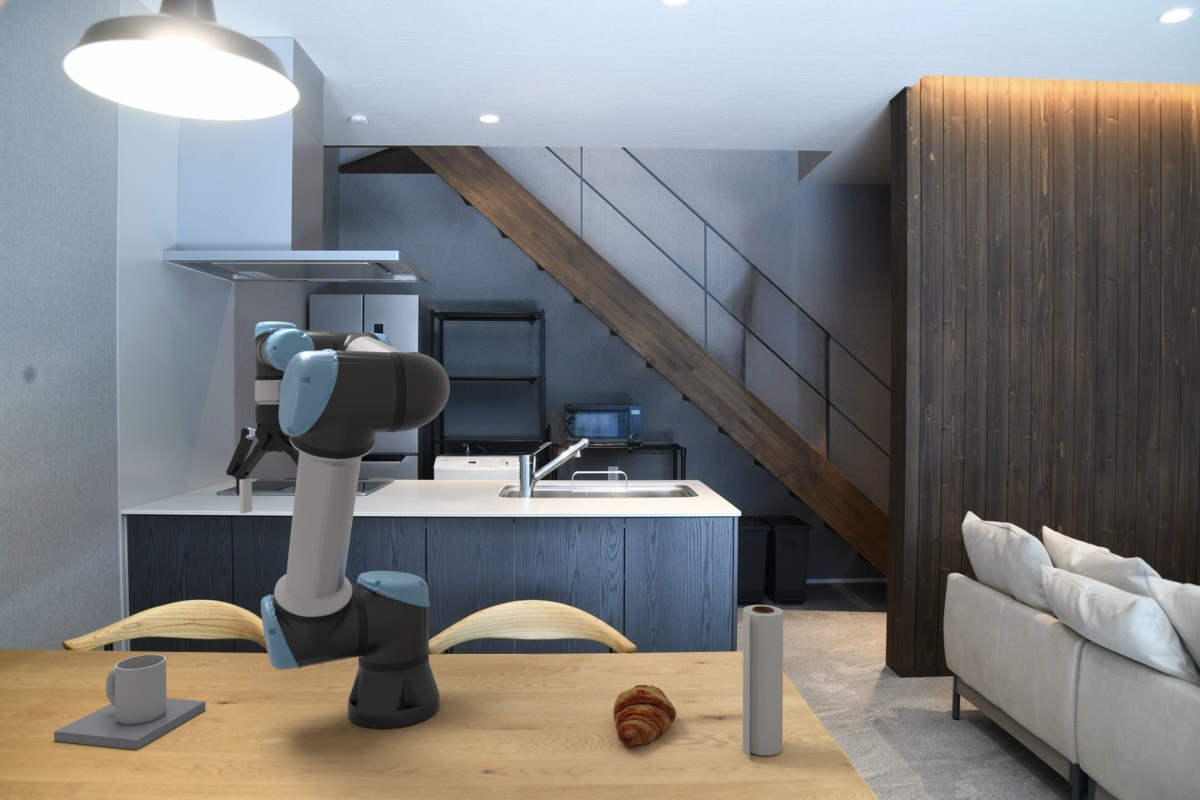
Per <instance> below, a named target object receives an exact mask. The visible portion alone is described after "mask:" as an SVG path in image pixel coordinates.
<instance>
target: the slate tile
mask: <svg viewBox="0 0 1200 800" xmlns="http://www.w3.org/2000/svg"><path fill="white" fill-rule="evenodd" d="M206 708H207V707H206V701H203V700H192V699H183V698H171V697H167V707H166V712H165V713H164V715H163V716H161V717H160V718H158V719H156V720H153V721H151V722H147V723H143V724H137V725H124V724H120V723H119V722H118V721H117V720H116V715H115V706H114V705H112V704H111V703H110V704H108V705H106V706H103V707H101V708H99V709H97V710H96V711H93V712H91V713H89V714H87V715H85V716H83V717H80V718H79V719H77V720H75V721H72V722H71V723H68V724H67V725H64V726H62V727H60V728H59V729H57V730H55V731H53V740H54V742H58V741H59V742H61V743H68V744H69V743H70V744H79V745H87V746H95V747H96V746H97V747H105V746H106V748H115V749H124V750H125V749H126V750H133V749H134V750H136V751H138V750H140V749H142V748H143V747H145V746H147V745H148V743H149V744H150V743H151V741H152V742H154V741H156V740H157V739H159V738H161V737H163V736H164V735H166V734H167V733H169V732H170V730H171V731H172V730H174V729H176V728H178V727H180V726H181V725H182V723H183V724H185V723H186V722H188V721H189V719H190V720H191V719H193V718H195V717H196V716H198V715H200V714H202V713H203V712H205V711H206ZM204 710H205V711H204ZM202 711H203V712H202ZM201 712H202V713H201ZM199 713H200V714H199ZM197 714H198V715H197ZM194 716H195V717H194ZM192 717H193V718H192ZM187 720H188V721H187ZM177 726H178V727H177ZM175 727H176V728H175ZM168 731H169V732H168ZM165 733H166V734H165ZM158 737H159V738H158ZM156 738H157V739H156ZM153 740H154V741H153ZM146 744H147V745H146ZM141 747H142V748H141Z"/></svg>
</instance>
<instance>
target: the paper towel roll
mask: <svg viewBox="0 0 1200 800" xmlns="http://www.w3.org/2000/svg"><path fill="white" fill-rule="evenodd" d="M742 612H743V613H742V614H743V615H742V619H743V621H742V623H743V624H742V628H743V629H742V632H743V633H742V634H743V636H742V641H743V642H742V644H743V645H742V675H743V676H742V749H743V751H744V752H745V754H746V755H747V756H748V760H750V759H751V758H750V757H751V755H750V754H753V755H757V756H774V755H778V754H780V753H781V752H782V751H783V737H784V736H783V734H784V733H783V725H784V722H783V717H784V715H783V711H784V710H783V709H784V708H783V701H784V700H783V697H784V696H783V695H784V694H783V693H784V692H783V691H784V690H783V689H784V685H783V684H784V680H783V679H784V677H783V676H784V669H783V668H784V660H783V659H784V610H783V609H781V607H780V608H779V607H777V606H773V605H766V604H753V605H747V606H744V607H743V611H742Z"/></svg>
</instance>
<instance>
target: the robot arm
mask: <svg viewBox="0 0 1200 800" xmlns="http://www.w3.org/2000/svg"><path fill="white" fill-rule="evenodd" d="M253 343H254V363H255V365H254V367H255V368H254V369H255V372H254V373H255V376H254V377H255V380H254V400H255V402H258V404H256V406H255V409H254V411H255V412H254V413H255V417H254V419H255V423H256V428H254V427H244V428H242V429H241V431H240V439H239V441H238V442H239V443H238V444H237V445H236V446H237V447H236V449H235V451H234V453H233V455H232V457H231V460H230V462H229V464H228V467H227V469H226V471H225V472H226V475H227V476H231V477H234V478H235V480H236V481H235V485H236V486H235V487H236V491H235V493H236V495H237V496H239V514H246V513H251V512H252V511H253V483H252V482H253V478H252V477H250V474H251V472H252V471H253V470H254V469H255V467H256V466H257V465H258V464H259V462H260V461H261V460H262V458H263V457H264V456H265V454H267V453H268V452H269V453H271V452H277V453H284V452H285V454H286V455H288V456H289V457H290V458H291V459H292V461H293V462H294V463H295V465H296V466H297V473H296V480H295V489H294V498H293V499H294V500H293V510H292V519H291V529H290V537H289V538H290V539H289V546H288V547H289V548H288V557H287V566H286V567H287V568H286V574H284V575H282V576H281V577H280V578H279V579H278V580H277V582H276V583H275V586H274V592H273V594H268V595H266V596H263V597H262V599H261V601H260V613H261V622H262V627H263V635H264V641H265V645H266V650H267V655H268V659H269V662H270V664H271V666H272V667H273V668H274V669H277V670H283V671H284V670H293V669H302V668H305V667H311V666H315V665H316V666H317V665H321V664H326V663H333V662H336V661H337V662H338V661H342V660H347V659H354V658H358V669H357V672H356V675H355V678H354V682H353V684H352V687H351V691H350V694H349V697H348V699H347V716H348V719H349V720H350V722H352V723H354V724H356V725H358V726H361V727H366V728H371V729H390V728H391V729H393V728H400V727H406V726H410V725H415V724H417V723H420V722H423V721H425V720H427V719H429V718H432V717H433V716H434V715H436V713H437V712H438V711H439V709H440V691H439V690H440V689H439V687H438V685H437V682H436V679H435V676H434V673H433V670H432V666H431V664H430V606H431V603H430V596H429V587H428V586H429V585H428V583H427V582H426V580H425V579H424V578H422V577H421V576H419V575H416V574H413V573H407V572H403V571H401V572H400V571H392V570H391V571H390V570H373V571H367V572H362V573H360V574H359V575H358V576H357V579H356V583H355V584H352V583H351V581H350V580H349V579H348V577H346V568H347V563H348V556H349V555H348V554H349V548H350V540H351V533H352V526H353V520H354V512H355V506H356V505H355V504H356V499H357V490H358V483H359V477H360V470H361V462H362V458H363V457H365V456H367V455H368V454H370V452H371V451H372V450H373V449H374V448H375V447H374V446H375V441H376V435H377V434H382V433H383V434H385V433H401V432H402V433H403V432H408V431H412V430H417V429H418V428H421V427H423V426H426V424H429V423H430V422H432V421H433V420H434V419H436V418H437V417H438V416H439V414H440V413H442V411H443V410H444V408H445V406H446V404H447V403H448V401H449V398H450V397H449V396H450V379H449V376H448V374H447V371H446V370H445V368H444V367H443V365H442V364H441V363H440V362H439V361H437V360H436V359H435V358H432V356H430V355H427V354H424V353H421V352H418V351H410V352H409V351H408V352H404V351H402V350H400V349H398V348H396V347H393V346H392V344H391V341H390V339H389V337H388V336H387V335H386V334H384V333H377V332H371V331H366V332H353V331H352V332H349V331H348V332H347V331H345V332H344V331H342V332H341V331H328V330H327V331H326V330H325V331H324V330H304V329H303V330H301V329H298V328H297V325H296V324H294V323H293V322H286V321H261V322H258V323H257V324H255V329H254V338H253ZM254 439H257V440H258V441H257V442H256V444H255V445H254V447H253V448H252V445H253V443H254ZM251 448H252V449H253V450H252V451H251V452H250V449H251ZM249 452H250V454H249ZM248 454H249V455H248Z"/></svg>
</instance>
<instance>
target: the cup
mask: <svg viewBox="0 0 1200 800" xmlns="http://www.w3.org/2000/svg"><path fill="white" fill-rule="evenodd" d="M105 693H106V694H105V695H106V697H107V699H108V702H109V703H110V704H112V705H114V706H115V715H116V720H117V721H118V722H119V723H120V724H124V725H137V724H143V723H147V722H151V721H153V720H156V719H158V718H160V717H161V716H163V715H164V713H165V712H166V707H167V698H168V697H167V696H168V694H167V657H166V655H163V654H158V653H157V654H156V653H153V654H152V653H150V654H141V655H136V656H130V657H127V658H124V659H121V660H119V661H117V663H115V665H114V667H113V668H112V669H111V670H110V671H109V672H108V674H107V676H106V680H105Z"/></svg>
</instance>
